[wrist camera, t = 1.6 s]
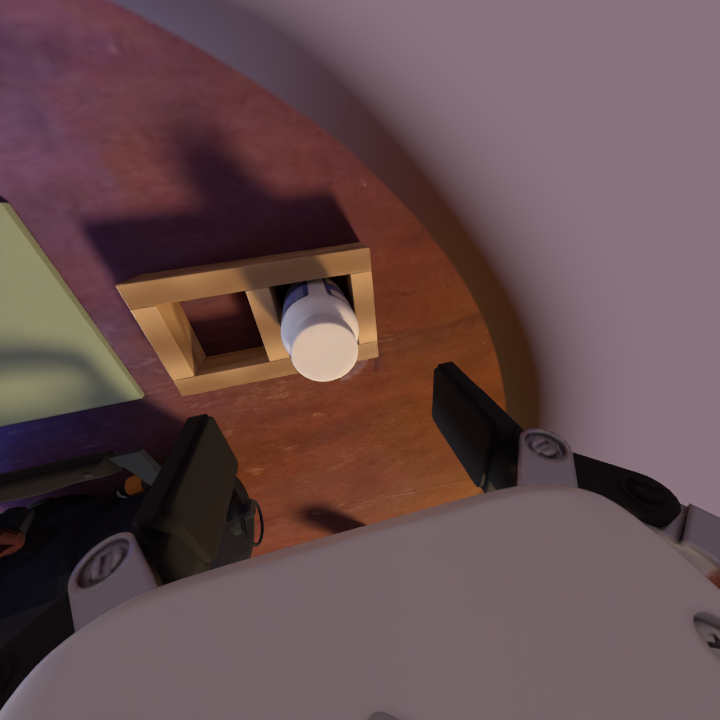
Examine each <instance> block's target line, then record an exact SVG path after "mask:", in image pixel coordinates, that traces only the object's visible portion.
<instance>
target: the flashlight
mask: <svg viewBox="0 0 720 720" xmlns="http://www.w3.org/2000/svg"><path fill="white" fill-rule="evenodd" d="M162 466H163V465H159V464H158V463H157V462H156V461H155V460H154V459H153V458H152V457H151V456H150V455H149V454H147V453H146V452H145V451H144V450H143V449H142V448H138V449H133V450H129V451H125V452H120V453H116V454H115V453H113V452H111V451H110V450H109V451H104V452H99V453H94V454H90V455H85V456H80V457H75V458H71V459H66V460H62V461H57V462H53V463H48V464H44V465H39V466H35V467H30V468H26V469H21V470H17V471H12V472H8V473H3V474H0V503H3V502H8V501H13V500H18V499H23V498H28V497H33V496H37V495H41V494H45V493H48V492H51V491H54V490H57V489H60V488H63V487H66V486H69V485H72V484H75V483H78V482H82V481H87V480H92V479H97V478H101V477H105V476H108V475H111V474H115V473H118V472H120V471H121V470H122V469H123V468H124V467H125V468H126V469H128V470H129V471H130V472H132V473H133V474H135V475H134V476H131V477H129V478H128V479H127V480H126V481H124V482H123V483H121V484H120V486H119V489H118V492H117V495H118V497H107V498H103V499H101V498H98V497H94V496H91V495H67V496H63V497H58V498H54V497H47V498H44V499H41V500H38V501H35V502H33V503H31V504H29V505H28V506H27V508H26V507H13V508H8V509H7V510H5V511H3V512H2V513H1V514H0V647H2V646H3V645H4V644H5V643H6V642H8V641H9V640H10V639H11V638H12V637H14V636H15V635H16V634H17V633H18V632H20V631H21V630H22V629H23V628H24V627H26V626H27V625H28V624H29V623H31V622H32V621H33V620H34V619H35V618H37V617H38V616H39V615H40V614H41V613H43V612H44V611H45V610H46V609H47V608H49V607H50V606H51V605H52V604H53V603H55V602H56V601H57V600H58V599H59V598H61V597H62V596H63V595H64V594H65V593H67V592H68V581H69V579H70V576H71V574H72V572H73V570H74V569H75V567H76V566H77V565H78V563H79V562H80V561H81V559H82V558H83V557H84V556H85V555H86V554H87V553H88V552H89V551H90V550H91V549H93V548H94V547H95V546H96V545H97V544H99V543H100V542H102V541H103V540H105V539H107V538H108V537H110V536H113V535H115V534H117V533H123V532H128V531H129V529H130V527H131V525H132V521H133V519H134V517H135V516H136V514H137V512H138V510H139V508H140V506H141V504H142V503H143V501H144V499H145V497H146V495H147V493H148V492H149V490H150V488H151V486H152V484H153V482H154V480H155V479H156V477H157V475H158V473H159V471H160V469H161V467H162ZM127 494H128V495H131V497H126V496H122V495H127ZM253 502H254V503H253ZM255 505H256V507H257V509H258V512H259V515H260V521H261V535H260V539H259V542H258V543H254V528H255V526H254V515H255V513H256V508H255ZM263 532H264V524H263V517H262V512H261V509H260V507H259V505H258V503H257V502H256V500H253V499H249V496H248V494H247V491H246V489H245V488H244V486H243V484H242V483H241V481H240V480H239V479H238V478H237V477H236V478H235V482H234V486H233V491H232V495H231V499H230V503H229V507H228V511H227V516H226V520H225V524H224V528H223V532H222V536H221V541H220V545H219V549H218V553H217V556H216V558H215V560H214V561H211V565H210V569H209V570H212V569H216V568H219V567H222V566H225V565H229V564H232V563H235V562H239V561H242V560H246V559H249V558H250V557H251V553H252V549H253V546H255V547H257V546H258V545H260V543H261V541H262V539H263Z"/></svg>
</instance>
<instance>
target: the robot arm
mask: <svg viewBox="0 0 720 720" xmlns="http://www.w3.org/2000/svg"><path fill="white" fill-rule="evenodd" d="M432 417H433V420H434V422H435V423H436V425H437V427H438V428H439V430H440V431H441V433H442V434H443V436H444V437H445V439H446V440H447V442H448V444H449V445H450V447H451V448H452V450H453V451H454V453H455V454H456V456H457V458H458V459H459V461H460V462H461V464H462V465H463V467H464V468H465V470H466V471H467V473H468V475H469V476H470V478H471V479H472V481H473V482H474V484H475V485H476V486H477V487H481V488H482V490H483V491H484V493H483V494H479V495H476V496H472V497H468V498H464V499H460V500H456V501H452V502H449V503H445V504H441V505H438V506H434V507H431V508H427V509H423V510H420V511H416V512H412V513H409V514H405V515H401V516H398V517H394V518H391V519H387V520H383V521H380V522H376V523H373V524H369V525H366V526H362V527H358V528H355V529H351V530H348V531H344V532H341V533H337V534H334V535H330V536H326V537H323V538H319V539H316V540H312V541H309V542H305V543H302V544H298V545H295V546H291V547H288V548H284V549H281V550H277V551H274V552H270V553H267V554H263V555H260V556H256V557H253V558H249V559H246V560H242V561H239V562H235V563H232V564H229V565H225V566H222V567H219V568H216V569H212V570H209V569H210V565H211V561H214V560H215V558H216V556H217V553H218V549H219V545H220V541H221V536H222V532H223V528H224V524H225V520H226V516H227V511H228V507H229V503H230V499H231V495H232V491H233V486H234V482H235V478H236V474H237V470H238V462H237V459H236V458H235V456H234V454H233V452H232V450H231V449H230V447H229V445H228V443H227V441H226V439H225V438H224V436H223V434H222V432H221V430H220V429H219V427H218V425H217V423H216V421H215V419H214V418H213V417H209V416H208V415H207V414H203V415H198V416H193V417H190V418H188V419H187V421H186V423H185V425H184V427H183V429H182V430H181V432H180V434H179V436H178V438H177V440H176V441H175V443H174V445H173V447H172V449H171V451H170V453H169V454H168V456H167V458H166V460H165V462H164V464H163V466H162V467H161V469H160V471H159V473H158V475H157V477H156V479H155V480H154V482H153V484H152V486H151V488H150V490H149V492H148V493H147V495H146V497H145V499H144V501H143V503H142V504H141V506H140V508H139V510H138V512H137V514H136V516H135V517H134V519H133V521H132V525H131V527H130V529H129V531H128V532H123V533H117V534H115V535H113V536H110V537H108V538H107V539H105V540H103V541H102V542H100V543H99V544H97V545H96V546H95V547H94V548H93V549H91V550H90V551H89V552H88V553H87V554H86V555H85V556H84V557H83V558H82V559H81V561H80V562H79V563H78V565H77V566H76V567H75V569H74V570H73V572H72V574H71V576H70V579H69V581H68V592H67V593H65V594H64V595H63V596H62V597H61V598H59V599H58V600H57V601H56V602H55V603H53V604H52V605H51V606H50V607H49V608H47V609H46V610H45V611H44V612H43V613H41V614H40V615H39V616H38V617H37V618H35V619H34V620H33V621H32V622H31V623H29V624H28V625H27V626H26V627H24V628H23V629H22V630H21V631H20V632H18V633H17V634H16V635H15V636H14V637H12V638H11V639H10V640H9V641H8V642H6V643H5V644H4V645H3V646H2V647H0V720H720V518H719V517H717V516H715V515H713V514H711V513H709V512H707V511H704V510H702V509H700V508H698V507H696V506H694V505H692V504H689V505H688V506H687V507H686V506H684V505H682V504H680V503H679V501H678V499H677V498H676V497H675V496H674V494H673V493H672V492H671V491H670V490H669V489H667V488H666V487H665V486H663V485H662V484H660V483H659V482H657V481H656V480H654V479H652V478H650V477H648V476H645V475H643V474H640V473H637V472H634V471H630V470H627V469H624V468H621V467H618V466H614V465H611V464H608V463H605V462H601V461H599V460H595V459H592V458H589V457H586V456H583V455H579V454H576V453H573V452H572V450H571V447H570V445H569V444H568V443H567V442H566V441H565V440H564V439H563V438H562V437H560V436H559V435H557V434H555V433H553V432H551V431H548V430H545V429H540V428H529V429H526V430H523V429H522V428H521V427H520V426H519V425H518V424H517V423H515V421H514V420H513V419H512V418H511V417H510V416H508V415H507V414H506V413H505V412H504V411H503V410H502V409H501V408H500V407H499V406H498V405H497V404H496V403H495V402H494V401H493V400H492V399H491V398H490V397H489V396H488V395H487V394H486V393H485V392H484V391H483V390H482V389H480V388H479V387H478V386H477V385H476V384H475V383H474V382H473V381H472V380H470V379H469V378H468V377H467V376H466V375H465V374H464V373H463V372H462V371H461V370H460V369H459V368H458V367H457V366H456V365H455V364H454V363H453V362H447V363H443V364H439V365H438V366H437V368H435V370H434V383H433V405H432Z"/></svg>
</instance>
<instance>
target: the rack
mask: <svg viewBox="0 0 720 720" xmlns="http://www.w3.org/2000/svg"><path fill="white" fill-rule="evenodd" d="M339 275H345V278H346V286H347V293H348V300H349V304H350V306H351V308H352V310H353V311H354V313H355V316H356V318H357V321H358V325H359V336H358V341H357V344H358V357H357V360H356V361H360V360H365V359H369V358H374V357H378V343H377V331H376V319H375V307H374V295H373V283H372V271H371V259H370V248H369V247H368V246H366V245H364V244H363V243H361V242H357V243H350V244H343V245H336V246H330V247H323V248H316V249H309V250H303V251H296V252H289V253H282V254H275V255H269V256H262V257H255V258H248V259H242V260H235V261H228V262H221V263H214V264H208V265H201V266H194V267H187V268H181V269H174V270H167V271H160V272H153V273H147V274H141V275H139V276H136V277H134V278H131V279H129V280H127V281H124V282H122V283H120V284H117V285H116V288H117V290H118V291H119V293H120V295H121V296H122V298H123V299H124V301H125V303H126V304H127V306H128V308H129V309H130V311H131V313H132V314H133V316H134V317H135V319H136V321H137V322H138V324H139V326H140V327H141V329H142V331H143V332H144V334H145V335H146V337H147V339H148V340H149V342H150V344H151V345H152V347H153V349H154V350H155V352H156V353H157V355H158V357H159V358H160V360H161V362H162V363H163V365H164V366H165V368H166V370H167V371H168V373H169V375H170V376H171V378H172V380H173V381H174V383H175V385H176V386H177V388H178V389H179V391H180V393H181V394H182V396H187V395H191V394H196V393H201V392H206V391H211V390H216V389H221V388H226V387H231V386H236V385H241V384H246V383H251V382H256V381H261V380H266V379H271V378H276V377H280V376H285V375H290V374H295V373H299V371H298V370H297V369H296V368H295V366H294V365H293V363H292V360H291V355H290V354H289V353H288V352H287V351H286V349H285V347H284V345H283V342H282V338H281V321H282V313H283V312H282V309H281V305H280V302H279V298H278V295H277V291H276V288H275V286H278V285H284V284H290V283H296V282H302V281H308V280H315V279H321V278H327V277H333V276H339ZM240 291H245V292H246V295H247V297H248V300H249V303H250V306H251V309H252V312H253V315H254V318H255V320H256V323H257V326H258V329H259V332H260V335H261V338H262V341H263V343H264V346H262V347H256V348H251V349H246V350H240V351H235V352H230V353H224V354H219V355H214V356H208V357H206V355H205V353H204V351H203V349H202V347H201V345H200V343H199V341H198V339H197V337H196V335H195V333H194V331H193V329H192V327H191V325H190V323H189V321H188V319H187V317H186V315H185V313H184V311H183V308H182V306H181V304H180V302H179V301H185V300H191V299H197V298H203V297H209V296H216V295H222V294H228V293H234V292H240Z"/></svg>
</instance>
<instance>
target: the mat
mask: <svg viewBox="0 0 720 720" xmlns="http://www.w3.org/2000/svg"><path fill="white" fill-rule="evenodd" d="M144 395H145V394H144V392H143V391H142V390H141V388H140V387H139V385H138V384H137V383H136V381H135V380H134V378H133V377H132V376H131V374H130V373H129V371H128V370H127V368H126V367H125V366H124V364H123V363H122V361H121V360H120V359H119V357H118V356H117V354H116V353H115V352H114V350H113V349H112V347H111V346H110V345H109V343H108V342H107V340H106V339H105V337H104V336H103V335H102V333H101V332H100V330H99V329H98V328H97V326H96V325H95V323H94V322H93V321H92V319H91V318H90V316H89V315H88V314H87V312H86V311H85V309H84V308H83V306H82V305H81V304H80V302H79V301H78V299H77V298H76V297H75V295H74V294H73V292H72V291H71V290H70V288H69V287H68V285H67V284H66V283H65V281H64V280H63V278H62V277H61V275H60V274H59V273H58V271H57V270H56V268H55V267H54V266H53V264H52V263H51V261H50V260H49V259H48V257H47V256H46V254H45V253H44V252H43V250H42V249H41V247H40V246H39V244H38V243H37V242H36V240H35V239H34V237H33V236H32V235H31V233H30V232H29V230H28V229H27V228H26V226H25V225H24V223H23V222H22V221H21V219H20V218H19V216H18V215H17V213H16V212H15V211H14V209H13V208H12V206H11V205H10V204H9V203H7V202H0V427H1V426H6V425H11V424H16V423H21V422H26V421H31V420H36V419H41V418H46V417H51V416H56V415H61V414H66V413H71V412H76V411H81V410H86V409H91V408H96V407H101V406H106V405H111V404H116V403H121V402H126V401H131V400H136V399H141V398H143V396H144Z"/></svg>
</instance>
